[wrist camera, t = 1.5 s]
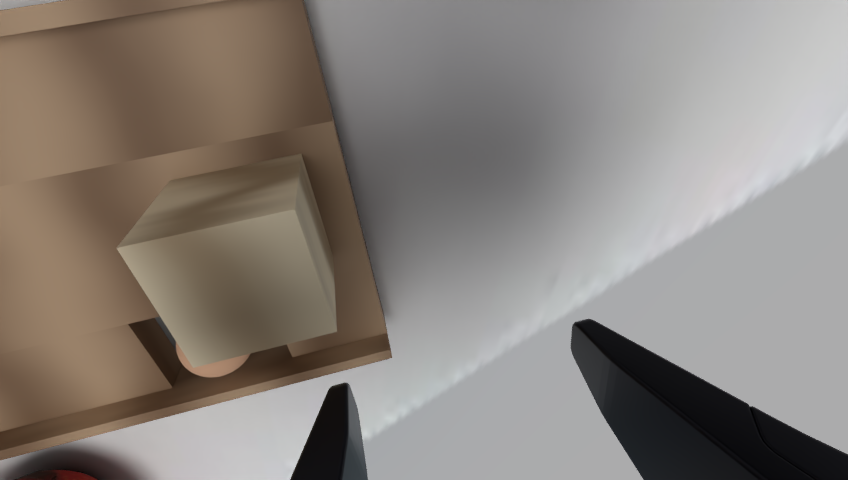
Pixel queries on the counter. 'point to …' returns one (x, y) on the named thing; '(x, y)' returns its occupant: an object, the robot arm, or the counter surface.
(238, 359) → the ball
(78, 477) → the apple
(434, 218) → the counter surface
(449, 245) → the counter surface
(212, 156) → the trap box
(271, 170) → the maple block
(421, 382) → the counter surface
